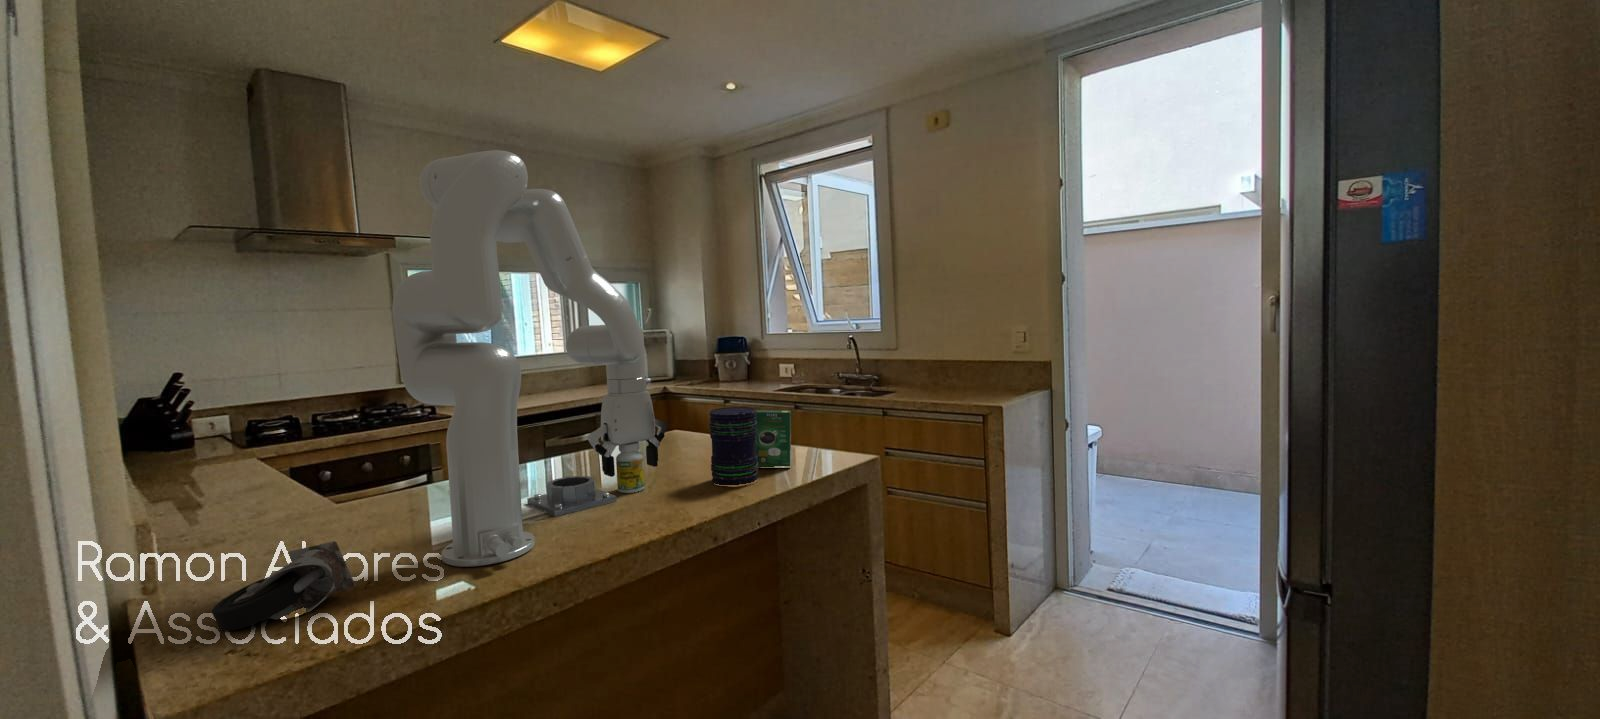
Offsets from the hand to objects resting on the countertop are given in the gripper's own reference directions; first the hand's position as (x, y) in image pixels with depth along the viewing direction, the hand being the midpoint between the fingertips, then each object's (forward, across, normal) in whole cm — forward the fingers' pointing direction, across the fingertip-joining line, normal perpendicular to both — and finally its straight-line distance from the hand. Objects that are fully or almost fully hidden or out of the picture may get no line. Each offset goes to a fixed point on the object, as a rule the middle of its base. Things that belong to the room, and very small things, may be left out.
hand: (631, 470), depth 129 cm
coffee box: (+4, -31, +9) cm, 32 cm away
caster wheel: (+4, +57, +16) cm, 60 cm away
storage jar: (+4, -18, +11) cm, 21 cm away
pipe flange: (+4, +12, -1) cm, 13 cm away
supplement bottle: (+4, 0, 0) cm, 4 cm away
